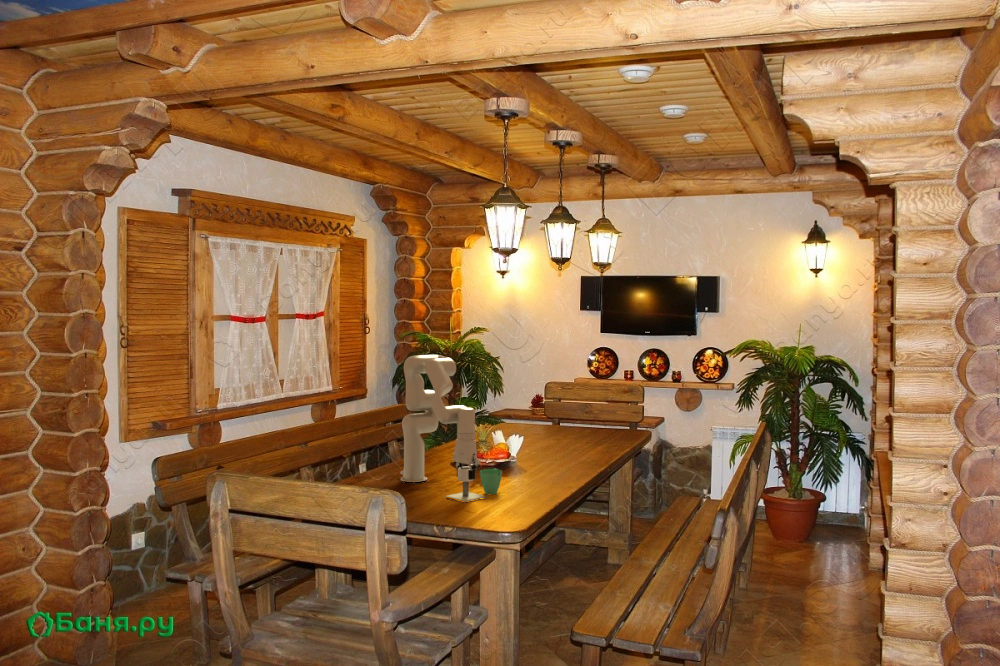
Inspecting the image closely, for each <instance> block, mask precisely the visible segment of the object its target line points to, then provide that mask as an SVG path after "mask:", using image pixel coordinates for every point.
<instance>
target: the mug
mask: <svg viewBox="0 0 1000 666" xmlns="http://www.w3.org/2000/svg"><path fill="white" fill-rule="evenodd" d="M502 475H503V471H502V469H498V468H486V469H481V470H480V471H479V477H480V481H481V485H482V489H483V491H484V494H485V493H486V494H485V495H487V494H495V495H497V493H498V491H499V488H500V485H501V481H502Z"/></svg>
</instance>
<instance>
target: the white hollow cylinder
mask: <svg viewBox="0 0 1000 666" xmlns="http://www.w3.org/2000/svg"><path fill="white" fill-rule="evenodd" d="M469 470H470V469H469V466H462V467H459V468H458V477H457V481H459V482H473V481H474V480H475V479H472V480H469Z"/></svg>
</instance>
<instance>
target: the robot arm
mask: <svg viewBox="0 0 1000 666" xmlns="http://www.w3.org/2000/svg"><path fill="white" fill-rule="evenodd" d="M456 372H457V365H456V362H455V360H453V359H452V358H451V357H447V356H444V355H440V354H417V355H411V356H408V357H406V358H405V360H404V363H403V373H404V378H405V407H406V409H407V410H408V411H410V412H416V413H410V414H407V415H404V417H403V418H402V421H401V427H402V433H403V469H402V470H401V471H400V472H399V474H400V475H402V477H400V481H401V480H402V481H407V482H419V481H425V480H427V479H428V477H427V476H425V440H424V439H423V437H422V436H421V434H426V433H433V432H435V431H437V429H438V428H439V423H441V424H443V425H445V424H446V425H448V424H457V425H456V426H457V428H456V429H457V431H456V435H457V436H456V437H457V438H456V440H455V443H454V451H453V454H454V455H453V456H452V461H453V463H454V465H455V468H456V477H457V478H458V468H459V467H463V466H464V465H467V466H468V467H469V469H470V470H469V480H472V479H474V480H475V479H476V470H477V468H478V467H479V465H480V464H481V462H480V460H479V459H478V455H477V454H478V452H477V442H476V440H475V439H476V419H475V418H476V410H475V409H474V408H473V407H468V406H466V405H464V404H463V405H446V406H445V404H444V402H443V400H442V397H444V396H446V394H448V393H450V391H451V390H452V389H453V387H454V386H453V385H454V384H453V382H452V380H451V377H453V376H454V375H455V374H456ZM421 374H426V375H427V377H428V380H429V381H430V384H431V386H432V387H433V389H425V381H424V378H423V376H422V375H421ZM418 411H424V412H419V413H418ZM402 481H401V482H402ZM427 481H428V480H427Z"/></svg>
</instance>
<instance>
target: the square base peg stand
mask: <svg viewBox="0 0 1000 666" xmlns="http://www.w3.org/2000/svg"><path fill="white" fill-rule="evenodd" d="M469 485H470V481H467V482H464V481H462V492H459V493H453V494H449V495H445V498H446V497H449V498H453V499H457V500H461V501H464V502H466V501H471V500H476V499H480V498H485V499H486V495H482V494H478V493H474V492H471V491H469V490H470V488H469V487H470V486H469Z"/></svg>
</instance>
